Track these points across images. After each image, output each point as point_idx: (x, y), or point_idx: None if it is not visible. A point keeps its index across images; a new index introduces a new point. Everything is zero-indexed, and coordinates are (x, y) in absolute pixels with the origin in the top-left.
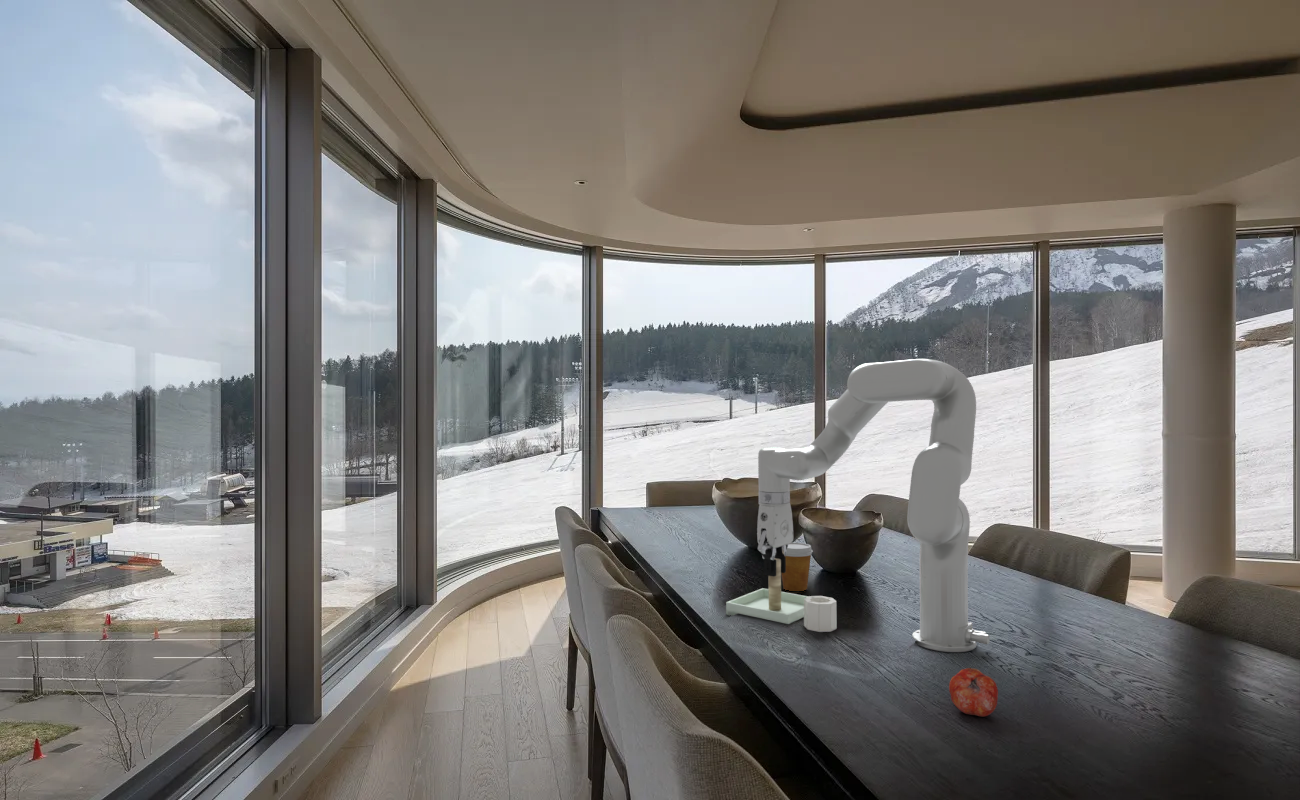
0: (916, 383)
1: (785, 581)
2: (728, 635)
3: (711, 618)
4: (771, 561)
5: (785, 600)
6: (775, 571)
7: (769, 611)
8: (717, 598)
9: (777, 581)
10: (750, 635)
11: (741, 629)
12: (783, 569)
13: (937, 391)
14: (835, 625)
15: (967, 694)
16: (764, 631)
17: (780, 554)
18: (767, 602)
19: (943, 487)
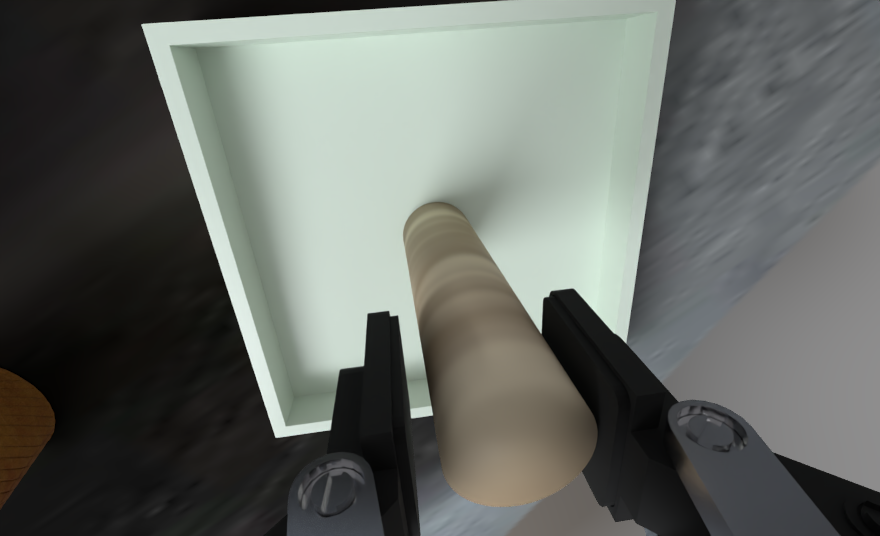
0: None
1: (23, 461)
2: (848, 172)
3: (665, 357)
4: (664, 408)
5: (262, 287)
6: (588, 307)
7: (654, 143)
8: (419, 499)
9: (495, 274)
10: (816, 96)
11: (748, 184)
12: (399, 331)
13: None
14: None
15: None
16: (733, 81)
17: (398, 505)
18: (364, 328)
19: None
